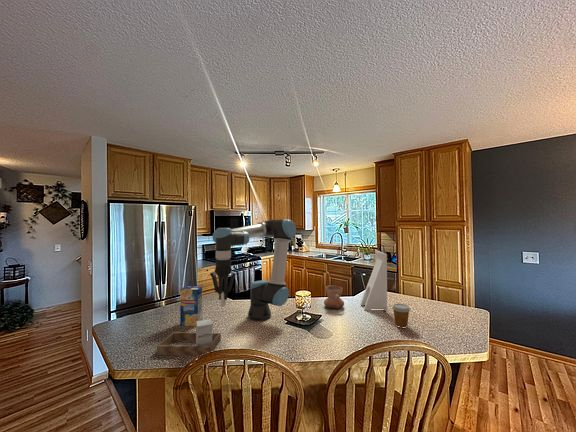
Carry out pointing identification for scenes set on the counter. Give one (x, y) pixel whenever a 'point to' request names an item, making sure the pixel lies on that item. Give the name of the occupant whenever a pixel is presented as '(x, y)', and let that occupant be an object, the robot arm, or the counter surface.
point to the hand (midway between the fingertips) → (223, 306)
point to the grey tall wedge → (377, 285)
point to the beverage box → (190, 305)
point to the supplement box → (204, 332)
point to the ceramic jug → (334, 297)
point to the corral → (168, 349)
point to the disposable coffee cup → (401, 314)
